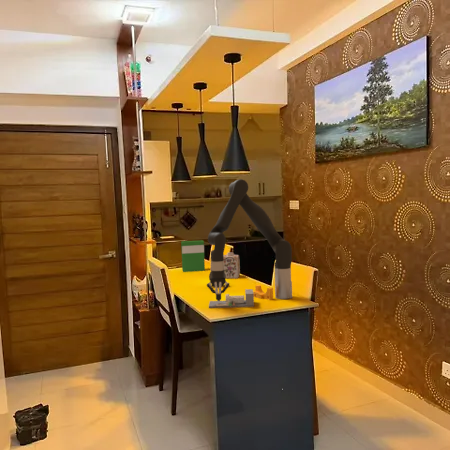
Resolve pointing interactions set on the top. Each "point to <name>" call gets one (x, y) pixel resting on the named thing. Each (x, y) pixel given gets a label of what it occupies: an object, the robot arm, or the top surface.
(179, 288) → the top surface
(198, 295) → the top surface
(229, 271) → the decorative jar
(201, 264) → the hardback book
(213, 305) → the base
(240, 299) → the block
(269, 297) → the pipe clamp
